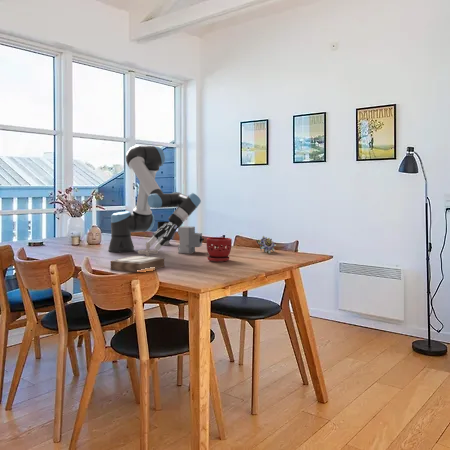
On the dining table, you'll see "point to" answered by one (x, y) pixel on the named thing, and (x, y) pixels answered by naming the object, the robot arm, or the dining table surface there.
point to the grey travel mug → (163, 234)
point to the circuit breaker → (189, 239)
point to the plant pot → (218, 249)
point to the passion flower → (266, 244)
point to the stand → (136, 263)
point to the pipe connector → (147, 250)
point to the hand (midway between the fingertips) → (151, 248)
